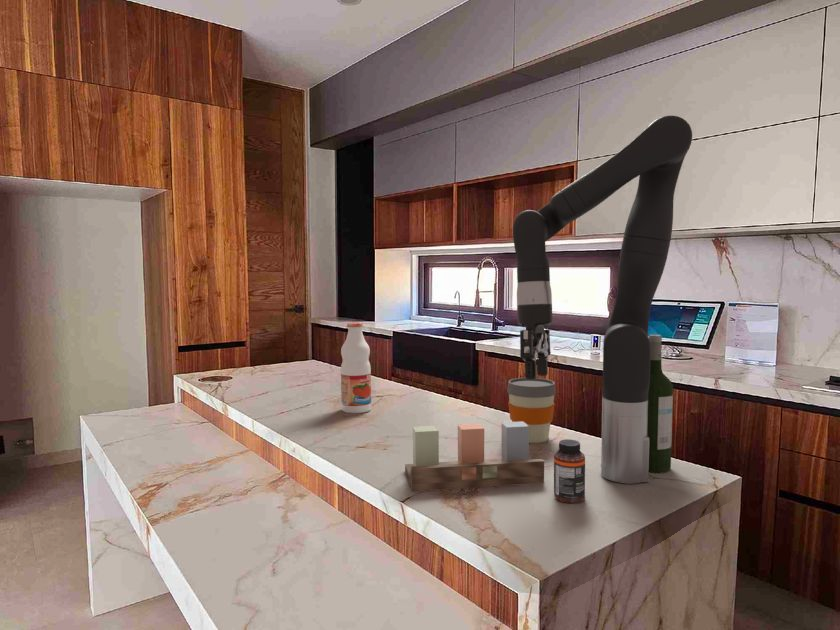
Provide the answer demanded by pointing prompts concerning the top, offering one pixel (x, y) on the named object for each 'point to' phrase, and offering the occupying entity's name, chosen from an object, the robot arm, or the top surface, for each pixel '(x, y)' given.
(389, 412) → the top surface
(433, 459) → the sage key
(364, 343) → the fruit juice
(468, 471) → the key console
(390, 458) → the top surface
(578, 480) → the supplement bottle
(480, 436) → the terracotta key
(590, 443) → the top surface
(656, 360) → the wine bottle
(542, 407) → the reusable coffee cup
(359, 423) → the top surface
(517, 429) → the slate key
